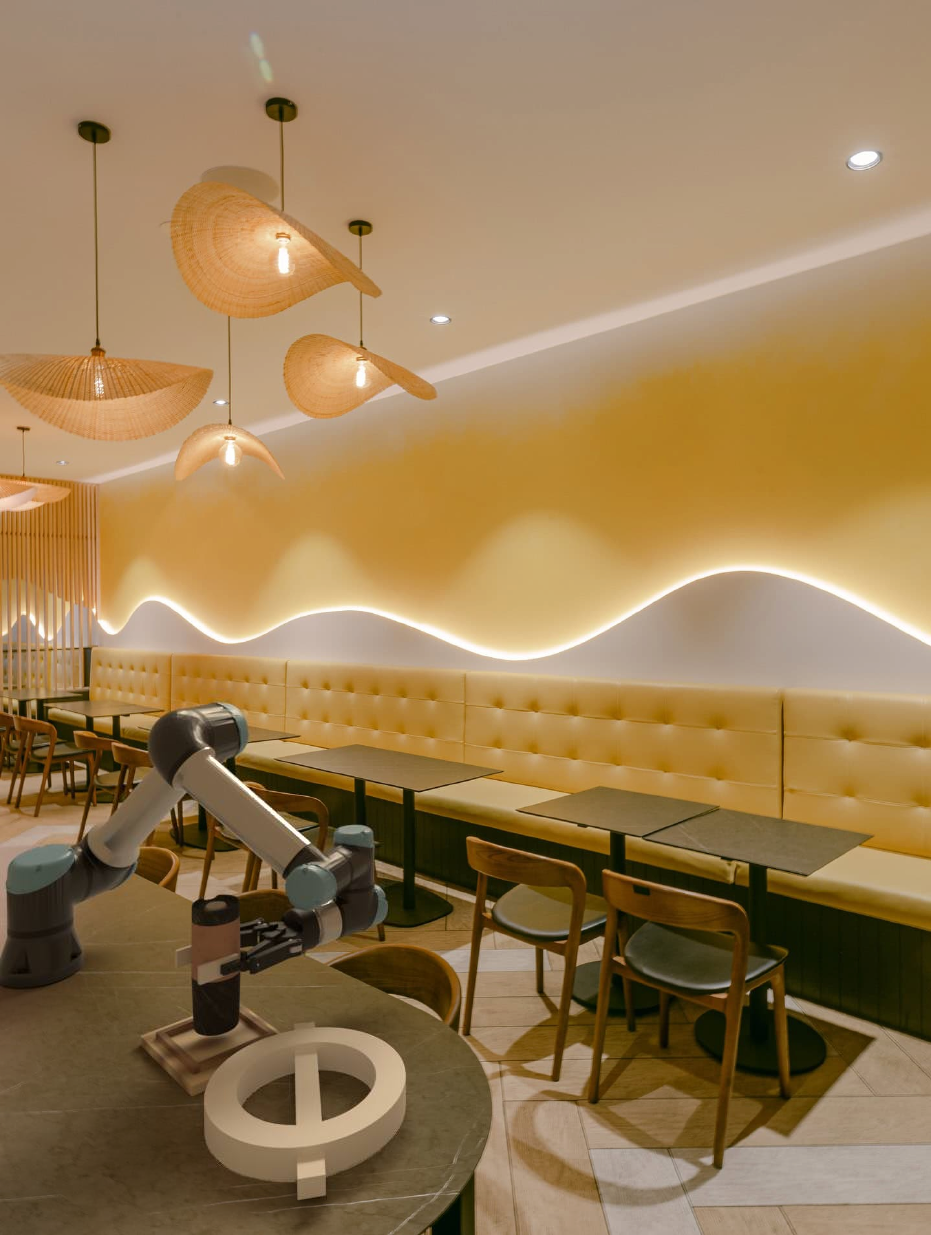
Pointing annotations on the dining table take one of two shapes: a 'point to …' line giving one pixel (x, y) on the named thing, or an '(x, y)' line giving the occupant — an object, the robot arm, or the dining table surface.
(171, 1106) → the dining table surface
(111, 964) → the dining table surface
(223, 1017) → the travel mug
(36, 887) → the robot arm
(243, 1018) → the board
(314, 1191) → the ring with crossbar
